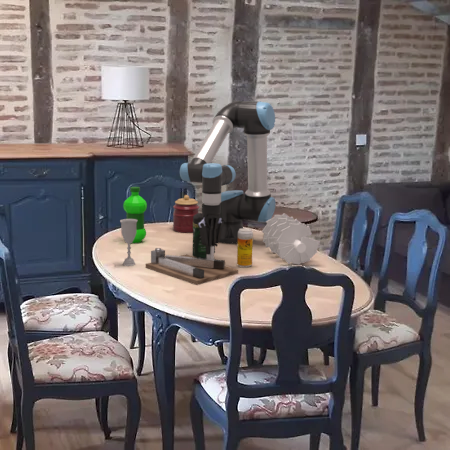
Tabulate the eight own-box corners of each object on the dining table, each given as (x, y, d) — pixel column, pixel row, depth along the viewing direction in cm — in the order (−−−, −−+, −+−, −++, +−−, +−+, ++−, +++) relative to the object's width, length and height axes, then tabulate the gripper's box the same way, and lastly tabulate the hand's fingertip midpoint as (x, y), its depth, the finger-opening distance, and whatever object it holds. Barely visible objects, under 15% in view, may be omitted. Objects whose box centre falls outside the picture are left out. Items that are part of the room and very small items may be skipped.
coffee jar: (212, 259, 288) (213, 216, 284) (193, 260, 286) (194, 216, 282) (209, 253, 297) (210, 211, 293) (191, 254, 296) (191, 211, 292)
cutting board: (186, 257, 290) (186, 254, 289) (238, 273, 269) (238, 269, 269) (145, 267, 274) (145, 263, 274) (196, 284, 254) (196, 280, 253)
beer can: (241, 268, 276) (242, 232, 273) (234, 264, 281) (235, 228, 278) (254, 266, 279) (255, 230, 276) (247, 262, 284) (248, 227, 281)
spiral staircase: (289, 276, 281) (268, 257, 304) (326, 256, 283) (302, 239, 306) (273, 238, 274) (253, 222, 297) (311, 218, 277) (288, 203, 300)
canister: (199, 233, 333) (199, 197, 329) (172, 233, 333) (172, 197, 329) (199, 227, 346) (200, 192, 342) (173, 227, 345) (173, 192, 342)
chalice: (129, 267, 274) (129, 223, 270) (116, 264, 277) (116, 221, 273) (141, 263, 280) (141, 220, 276) (128, 260, 283) (128, 218, 279)
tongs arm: (165, 263, 274) (165, 256, 273) (166, 262, 276) (166, 254, 275) (223, 269, 268) (223, 261, 268) (224, 267, 270) (224, 260, 270)
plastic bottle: (147, 244, 311) (147, 189, 305) (123, 244, 309) (123, 189, 304) (146, 238, 321) (146, 185, 315) (123, 239, 319) (123, 185, 313)
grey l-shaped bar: (151, 263, 275) (151, 248, 274) (160, 260, 279) (160, 247, 277) (199, 279, 256) (200, 264, 255) (209, 276, 259) (209, 261, 258)
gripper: (216, 200, 275) (215, 257, 280) (192, 203, 266) (191, 262, 271) (230, 202, 270) (228, 260, 275) (206, 206, 261) (204, 266, 266)
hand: (210, 261), depth 273 cm, fingers closed
